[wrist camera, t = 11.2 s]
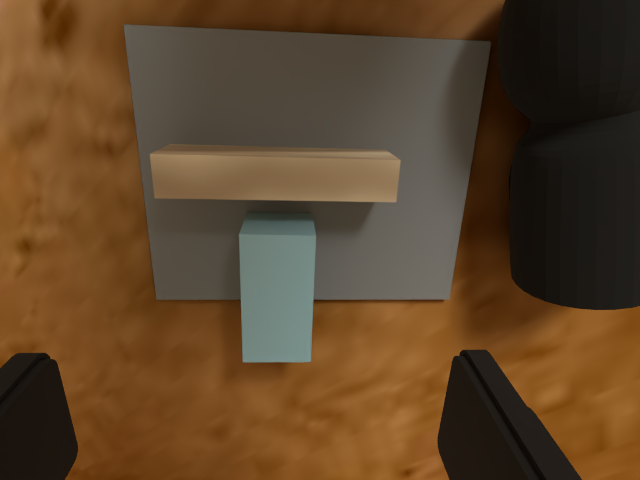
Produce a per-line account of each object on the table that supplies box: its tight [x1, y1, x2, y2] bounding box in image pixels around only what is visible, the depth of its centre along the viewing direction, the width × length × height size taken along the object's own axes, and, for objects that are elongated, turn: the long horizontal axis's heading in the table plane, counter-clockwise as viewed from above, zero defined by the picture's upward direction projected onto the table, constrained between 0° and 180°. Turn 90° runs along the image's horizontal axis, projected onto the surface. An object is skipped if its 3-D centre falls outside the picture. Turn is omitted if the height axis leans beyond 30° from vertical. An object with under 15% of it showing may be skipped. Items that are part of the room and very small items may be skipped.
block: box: [239, 212, 316, 362], centre depth 28 cm, size 4×4×9 cm
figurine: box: [498, 0, 640, 310], centre depth 24 cm, size 9×9×20 cm
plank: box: [150, 144, 401, 202], centre depth 25 cm, size 2×14×4 cm, turn 88°
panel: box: [123, 24, 492, 300], centre depth 28 cm, size 18×22×1 cm
